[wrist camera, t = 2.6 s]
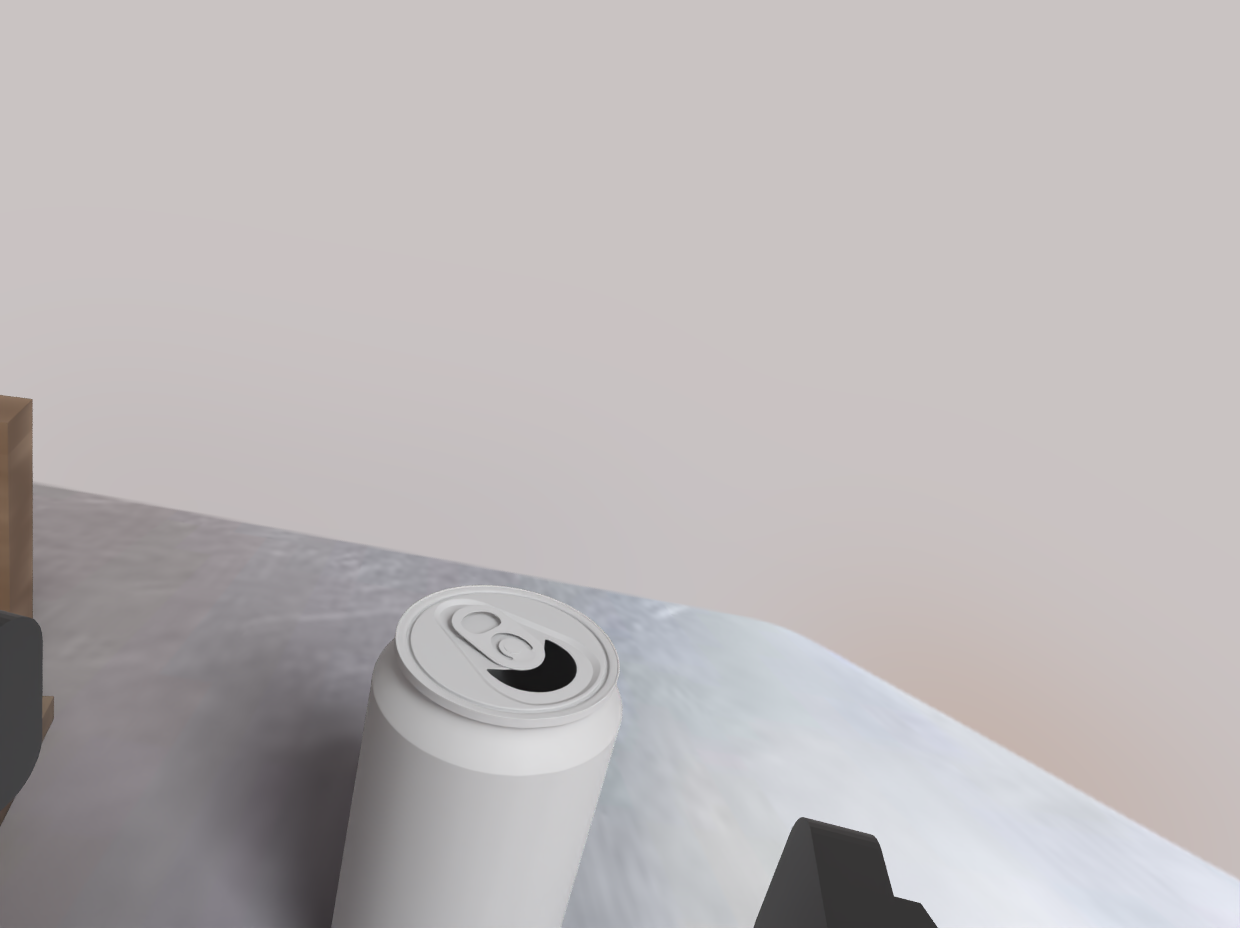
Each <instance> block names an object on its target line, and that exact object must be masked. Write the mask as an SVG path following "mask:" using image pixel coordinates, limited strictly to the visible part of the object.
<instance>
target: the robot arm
mask: <svg viewBox="0 0 1240 928" xmlns="http://www.w3.org/2000/svg"><path fill="white" fill-rule="evenodd" d="M42 649H43V640H42V632H41V628H40V626H39V625H38V623H37V622H36V621H35V620H34V619H32V618H30V617H26V616H22V615H18V614H14V613H10V612H6V611H2V610H0V811H1V810H2V809H3V808H4V807H5V806H7V805H8V804H9V803H10V802H11V800H12V799H13V798H14V797H15V796H16V795H17V794H18V792H19V791H20V790H21V788H22V787H23V786H24V784H25V783H26V781H27V779H28V778H29V776H30V774H31V772H32V770H33V768H34V766H35V764H36V761H37V759H38V756H39V752H40V749H41V744H42ZM754 928H938V927H937V926H936V925H935V923H934V922H933V920H932V919H931V917H930V916H929V914H928V913H927V912H926V910H925V909H924V907H923V906H922V904H921V903H917V902H914V901H910V900H906V899H902V898H898V897H894V895H893V891H892V888H891V884H890V880H889V876H888V873H887V869H886V865H885V862H884V858H883V854H882V850H881V847H880V844H879V842H878V840H877V839H876V838H875V837H874V836H873V835H871V834H867V833H863V832H859V831H855V830H851V829H848V828H844V827H840V826H836V825H832V824H828V823H824V822H820V821H816V820H812V819H808V818H804V817H802V818H800V819H798V820H797V821H796V823H795V824H794V826H793V828H792V830H791V832H790V835H789V837H788V840H787V842H786V845H785V848H784V850H783V853H782V855H781V858H780V860H779V863H778V865H777V868H776V871H775V873H774V876H773V878H772V881H771V883H770V886H769V889H768V891H767V894H766V896H765V899H764V901H763V904H762V906H761V909H760V912H759V914H758V917H757V919H756V922H755V925H754Z"/></svg>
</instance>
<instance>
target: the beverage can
mask: <svg viewBox="0 0 1240 928" xmlns="http://www.w3.org/2000/svg"><path fill="white" fill-rule="evenodd" d="M619 670H620V663H619V658H618V654H617V651H616V649H615V647H614V645H613V643H612V641H611V640H610V639H609V637H608V636H607V635H606V633H605V632H604V631H603V630H602V629H601V628H600V627H599V626H598V625H597V624H596V623H595V622H593V621H592V620H591V619H590V618H588V617H587V616H585V615H584V614H583V613H581V612H580V611H578V610H576V609H574V608H573V607H571V606H569V605H567V604H565V603H563V602H560V601H558V600H556V599H553V598H551V597H548V596H545V595H542V594H539V593H535V592H532V591H528V590H523V589H518V588H512V587H506V586H495V585H471V586H460V587H454V588H449V589H445V590H442V591H438V592H435V593H433V594H430V595H428V596H426V597H424V598H422V599H420V600H419V601H417V602H416V603H414V604H413V605H412V606H410V607H409V608H408V609H407V610H406V612H405V613H404V614H403V615H402V617H401V619H400V620H399V623H398V625H397V629H396V633H395V638H394V639H393V640H392V641H391V642H390V643H389V644H388V645H387V646H386V647H385V649H384V650H383V651H382V653H381V654H380V656H379V658H378V659H377V662H376V664H375V667H374V671H373V675H372V681H371V687H370V693H369V699H368V706H367V712H366V718H365V724H364V730H363V736H362V742H361V748H360V754H359V761H358V767H357V773H356V779H355V785H354V791H353V797H352V803H351V809H350V815H349V822H348V828H347V834H346V840H345V846H344V852H343V858H342V864H341V870H340V877H339V883H338V889H337V895H336V901H335V907H334V913H333V919H332V925H331V928H561V926H562V922H563V919H564V915H565V912H566V908H567V905H568V902H569V898H570V895H571V891H572V888H573V885H574V881H575V878H576V874H577V871H578V868H579V864H580V861H581V857H582V854H583V850H584V847H585V844H586V840H587V837H588V833H589V830H590V827H591V823H592V820H593V816H594V813H595V809H596V806H597V803H598V799H599V796H600V792H601V789H602V786H603V782H604V779H605V775H606V772H607V769H608V765H609V762H610V758H611V755H612V751H613V748H614V745H615V741H616V738H617V734H618V731H619V728H620V724H621V720H622V700H621V696H620V693H619V690H618V687H617V680H618V677H619Z"/></svg>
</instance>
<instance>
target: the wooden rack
mask: <svg viewBox="0 0 1240 928" xmlns="http://www.w3.org/2000/svg"><path fill="white" fill-rule="evenodd" d="M32 477H33V473H32V399H27V398H19V397H11V396H3V395H0V610H2V611H6V612H10V613H14V614H18V615H22V616H26V617H30V618H32V619H33V479H32ZM53 719H54V696H42V741H43V739H44V737H45V735H46V733H47V731H48V729H49V727H50V725H51V723H52V721H53ZM14 798H15V797H14ZM14 798H13V799H12V800H11V802H10V803H9V804H8V805H7V806H5V807H4V808H3V809H2V810H1V811H0V826H1V824H2V822H3V820H4V818H5V816H6V814H7V812H8V810H9V808H10V806H11V804H12V802H13V800H14Z"/></svg>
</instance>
